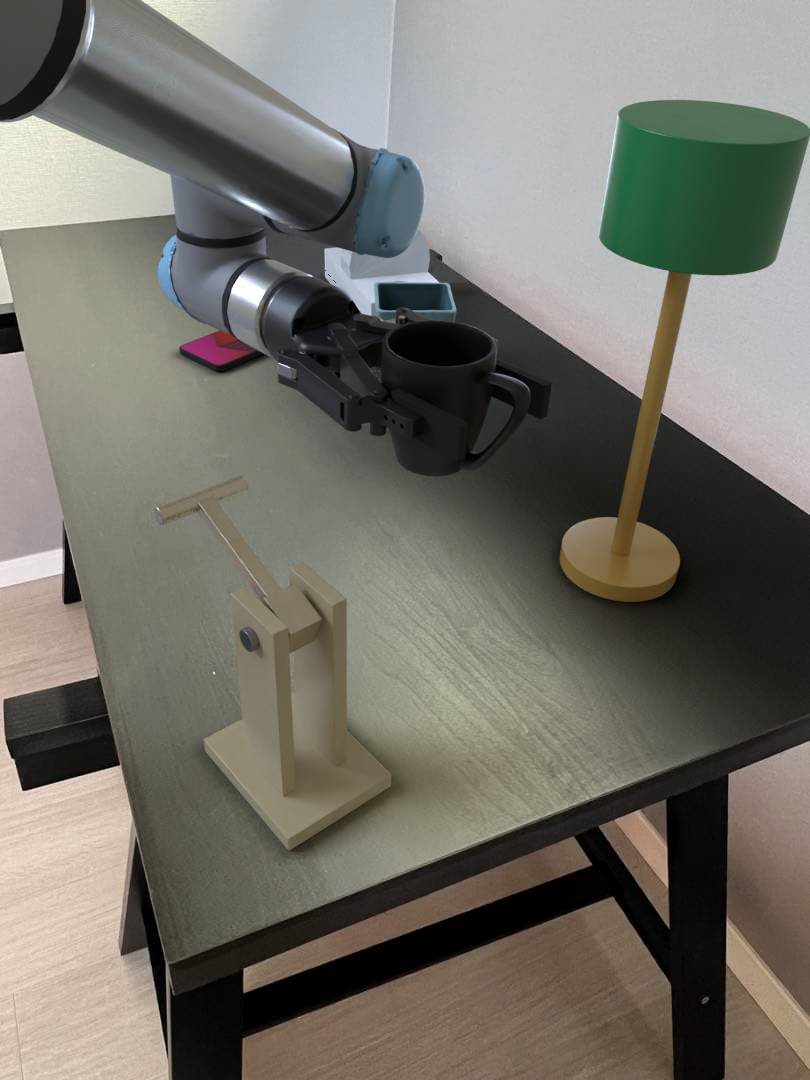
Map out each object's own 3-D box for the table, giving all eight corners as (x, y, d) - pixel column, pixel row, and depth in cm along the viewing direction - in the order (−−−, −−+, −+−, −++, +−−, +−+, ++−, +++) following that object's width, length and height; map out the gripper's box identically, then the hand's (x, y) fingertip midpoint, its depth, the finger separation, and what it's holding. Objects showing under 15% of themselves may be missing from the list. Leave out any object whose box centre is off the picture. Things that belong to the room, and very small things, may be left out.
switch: (152, 521, 58) (153, 496, 56) (236, 489, 61) (240, 465, 59) (255, 670, 54) (261, 648, 52) (341, 628, 57) (349, 605, 55)
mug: (472, 522, 66) (484, 400, 60) (356, 455, 72) (357, 339, 67) (546, 480, 71) (563, 363, 65) (431, 420, 77) (437, 310, 72)
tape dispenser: (450, 323, 122) (456, 237, 115) (369, 333, 119) (370, 245, 112) (397, 269, 137) (399, 190, 130) (323, 276, 133) (322, 195, 127)
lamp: (526, 580, 80) (592, 124, 58) (575, 511, 88) (648, 92, 67) (666, 628, 75) (792, 154, 54) (703, 550, 84) (825, 116, 63)
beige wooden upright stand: (204, 751, 63) (182, 578, 55) (303, 698, 68) (296, 530, 59) (288, 851, 57) (278, 675, 49) (391, 786, 62) (398, 613, 53)
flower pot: (372, 352, 114) (373, 280, 109) (444, 353, 115) (449, 281, 110) (374, 385, 107) (376, 310, 102) (451, 386, 108) (457, 311, 102)
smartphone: (175, 346, 111) (269, 310, 121) (176, 353, 112) (269, 316, 121) (218, 367, 107) (312, 327, 117) (219, 374, 108) (312, 334, 117)
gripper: (386, 328, 86) (588, 420, 74) (193, 399, 74) (396, 523, 61) (388, 247, 82) (603, 330, 69) (183, 308, 70) (400, 421, 57)
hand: (506, 420), depth 65 cm, fingers closed on mug, 8 cm apart
